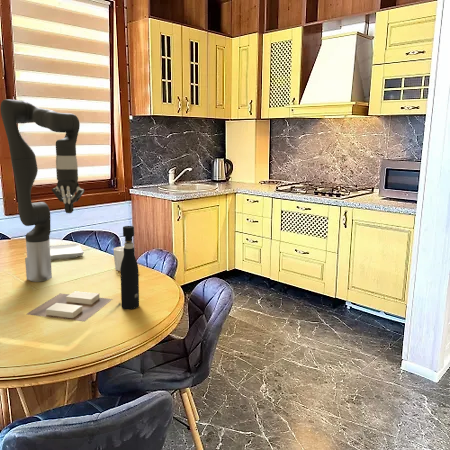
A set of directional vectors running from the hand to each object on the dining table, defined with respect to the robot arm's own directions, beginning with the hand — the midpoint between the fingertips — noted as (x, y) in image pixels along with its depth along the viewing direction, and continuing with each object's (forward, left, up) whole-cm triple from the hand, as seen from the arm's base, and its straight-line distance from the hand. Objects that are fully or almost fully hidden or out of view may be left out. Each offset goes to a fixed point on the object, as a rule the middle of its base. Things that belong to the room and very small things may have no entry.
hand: (69, 212), depth 159 cm
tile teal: (+5, -10, -30) cm, 32 cm away
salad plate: (-35, +45, -33) cm, 66 cm away
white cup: (+6, +32, -32) cm, 46 cm away
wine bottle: (+28, -8, -32) cm, 43 cm away
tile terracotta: (+5, -22, -30) cm, 37 cm away
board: (+9, -16, -32) cm, 37 cm away
